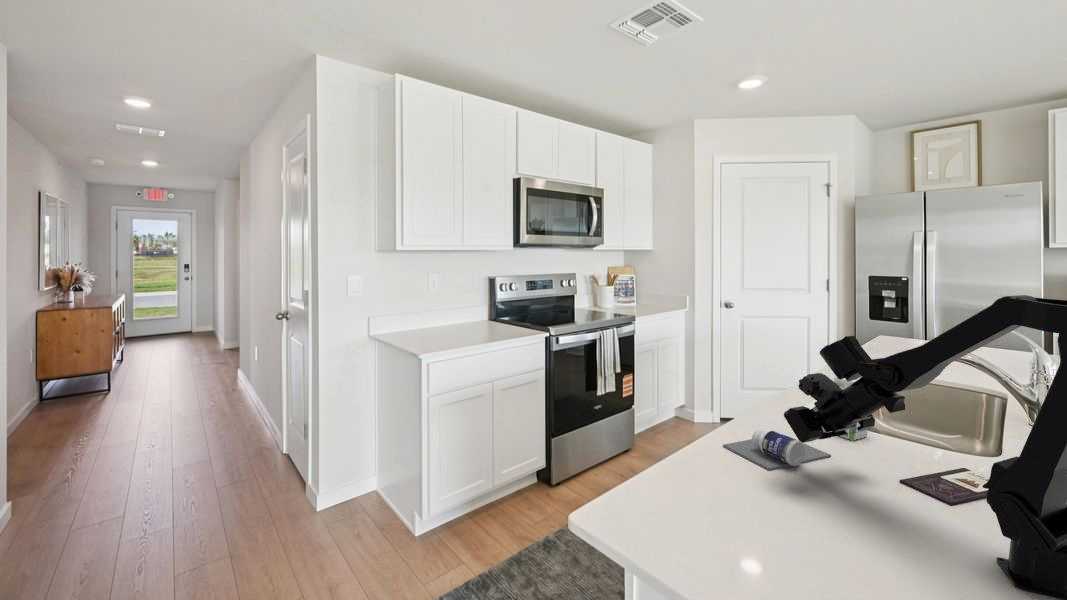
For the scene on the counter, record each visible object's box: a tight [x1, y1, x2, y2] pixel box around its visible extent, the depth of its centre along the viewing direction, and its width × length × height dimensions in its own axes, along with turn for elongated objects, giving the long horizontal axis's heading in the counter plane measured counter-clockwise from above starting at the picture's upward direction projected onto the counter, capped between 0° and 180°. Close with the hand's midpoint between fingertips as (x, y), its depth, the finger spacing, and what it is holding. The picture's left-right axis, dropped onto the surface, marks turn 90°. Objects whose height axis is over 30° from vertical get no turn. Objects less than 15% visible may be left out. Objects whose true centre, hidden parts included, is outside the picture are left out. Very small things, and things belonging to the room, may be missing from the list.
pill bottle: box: [751, 428, 806, 467], centre depth 102 cm, size 5×5×10 cm
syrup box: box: [833, 376, 868, 442], centre depth 115 cm, size 6×6×14 cm
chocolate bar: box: [899, 467, 990, 507], centre depth 91 cm, size 9×1×18 cm
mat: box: [722, 438, 832, 472], centre depth 107 cm, size 13×18×1 cm
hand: (801, 437), depth 98 cm, fingers closed
